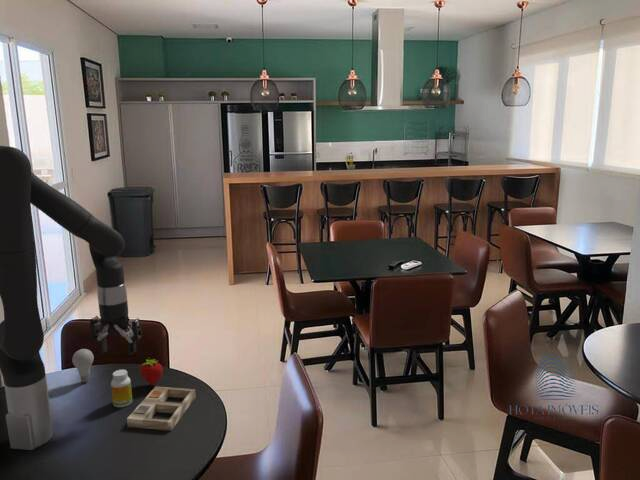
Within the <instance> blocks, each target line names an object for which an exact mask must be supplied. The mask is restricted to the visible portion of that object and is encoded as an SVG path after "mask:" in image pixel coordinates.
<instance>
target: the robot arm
mask: <svg viewBox="0 0 640 480" xmlns="http://www.w3.org/2000/svg"><path fill="white" fill-rule="evenodd" d="M31 205H33V206H34V207H35V208H37V209H38V210H39V211H41V212H42V213H43V214H44V215H46V216H47V217H48V218H50V220H52V221H54V222H55V223H56V224H58V226H60V227H62V228H63V229H65V230H66V231H67V232H69V233H70V234H71V235H74V236H75V237H77V238H78V239H81V240H84V241H85V242H86V243H88V249H89V253H90V256H91V259H92V263H93V265H94V267H95V274H96V276H95V277H96V283H97V284H96V285H97V292H96V293H97V301H98V311H99V316H97V315H96V316H94V317H93V318H91V319H90V321H89V323H90V338H91V339H93V340H94V339H95V340H97V342H98V349H99V351H100V352H101V353H102V354H105V353H106V352H107V351H108V342H107V336H108V334H109V335H120V336H121V337H123V338H125V340H126V341H127V342H128V343H127V347H128V355H131V356H132V355H134V354H135V352H137V342H138V341H139V340H140V339H142V337H143V334H142V333H143V332H142V325H141V320H140V318H139V317H138V318H136V319H130V317H129V306H128V305H129V304H128V303H129V302H128V294H127V288H126V284H125V283H126V282H125V273H124V268H123V265H122V264H121V262H119V261H118V258H117V256H119V255H121V254H122V253H123V252H124V249H125V247H126V244H125V240H124V237H123V236H122V235H121V233H119V231H117V230H116V229H114V228H113V227H111V226H109V225H108V224H106V223H104V222H103V221H101V220H100V219H98V218H97V217H96V216H94V214H92V213H91V212H89V211H88V210H87V209H86V208H85V207H83V206H82V205H81V204H79V203H78V202H77V201H75V200H73V199H72V198H71V197H69V196H67V195H66V194H64V193H62V192H61V191H60V190H57V189H56V188H54V187H52V186H51V185H49V184H48V183H46V182H45V181H43V180H42V179H41V178H39V176H37V175H36V174H35V173H33V172H32V164H31V161H30V159H29V156H28V155H27V154H26V153H25V152H23V151H22V150H21V149H19V148H17V147H13V146H6V145H0V300H1V302H2V303H1V304H2V308H3V319H4V320H2V321H1V322H0V372H1V376H2V379H3V383H4V384H3V385H4V391H5V399H6V407H7V411H8V412H7V414H6V415H5V421H6V426H7V427H6V428H7V433H8V434H7V435H8V439H9V446H10V449H16V450H25V451H33V450H34V449H36V448H38V447H40V446H43V445H44V444H46V443H48V442H49V441H50V440H51V439H52V438H53V436H54V429H53V422H52V415H51V414H52V413H51V407H50V399H49V392H48V391H49V390H48V383H47V373H46V369H45V368H46V367H45V364H44V361H43V359H42V357H41V354H40V351H41V349H42V347H43V344H44V339H45V335H44V329H43V325H42V320H41V314H40V311H39V310H40V309H39V305H38V277H37V276H38V274H37V256H36V255H37V254H36V244H35V236H34V235H35V234H34V226H33V217H32V211H31V210H32V209H31ZM100 325H101V326H102V327H103V329H102V330H101V331H100ZM129 325H130V326H129ZM101 353H100V354H101Z"/></svg>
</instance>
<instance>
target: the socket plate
mask: <svg viewBox="0 0 640 480" xmlns="http://www.w3.org/2000/svg"><path fill="white" fill-rule="evenodd" d="M170 397H171V398H181V399H183V400H182V402H173V401H172V402H171V401H170V402H168V401H167V400H168V399H169V398H170ZM196 398H197V397H196V389H195V388H193V389H192V388H183V387H181V388H180V387H170V386H169V387H167V386H159V385H157V386H154V388H153V389H152V390H151V391H150V392H149V393H148V394H147V396H146V397H145V398H144V399H143V400H142V401H141V402H140V403H139V404H138V405H137V406H136V408H135V409H134V410H133V411H132V412H131V413H130V414H129V416H127V418H126V421H127V428H139V429H150V430H151V429H152V430H161V431H170V432H171V431H172V430H173V429H174V427H175V426H176V425H177V424H178V422H180V419H181V418H182V416H183V415H184V414H185V412H186V411H187V409H188V408H189V407H190V406H191V404H192V403H193V401H195V399H196ZM156 413H162V414H163V413H165V414H172V415H171V416H170V418H169V419H161V418H153V417H154V416H155V414H156Z"/></svg>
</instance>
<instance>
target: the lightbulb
mask: <svg viewBox="0 0 640 480" xmlns="http://www.w3.org/2000/svg"><path fill="white" fill-rule="evenodd" d="M94 357H95V356H94V354H93V352H92V351H91V350H90V349H87V348H80V349H79V350H77V351H75V352H74V353H73V355H72V359H71V361H72V364H73V365H74V367H75V368H76V370H77V371H78V375H79V376H80V377H79V378H80V381H81V382H82V383H87V382H88V381H89V380H91V379H90V374H91V367H92V365H93V362H94V359H95V358H94Z"/></svg>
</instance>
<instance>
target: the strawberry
mask: <svg viewBox="0 0 640 480" xmlns="http://www.w3.org/2000/svg"><path fill="white" fill-rule="evenodd" d="M145 361H146V362H143V363H141V365H140V369H139V371H140V375H141V377H142V378H143V379H144V380H145V381H146V382H147V383H148V384H149V386H154V387H155V385H156V383H157V382H158V381H159V380H160V379H161V377H162V375H163V370H164V369H163V365H161V364H160V363H159V362H158V360H156V358H153V359H151V358H148V359H145Z"/></svg>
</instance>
